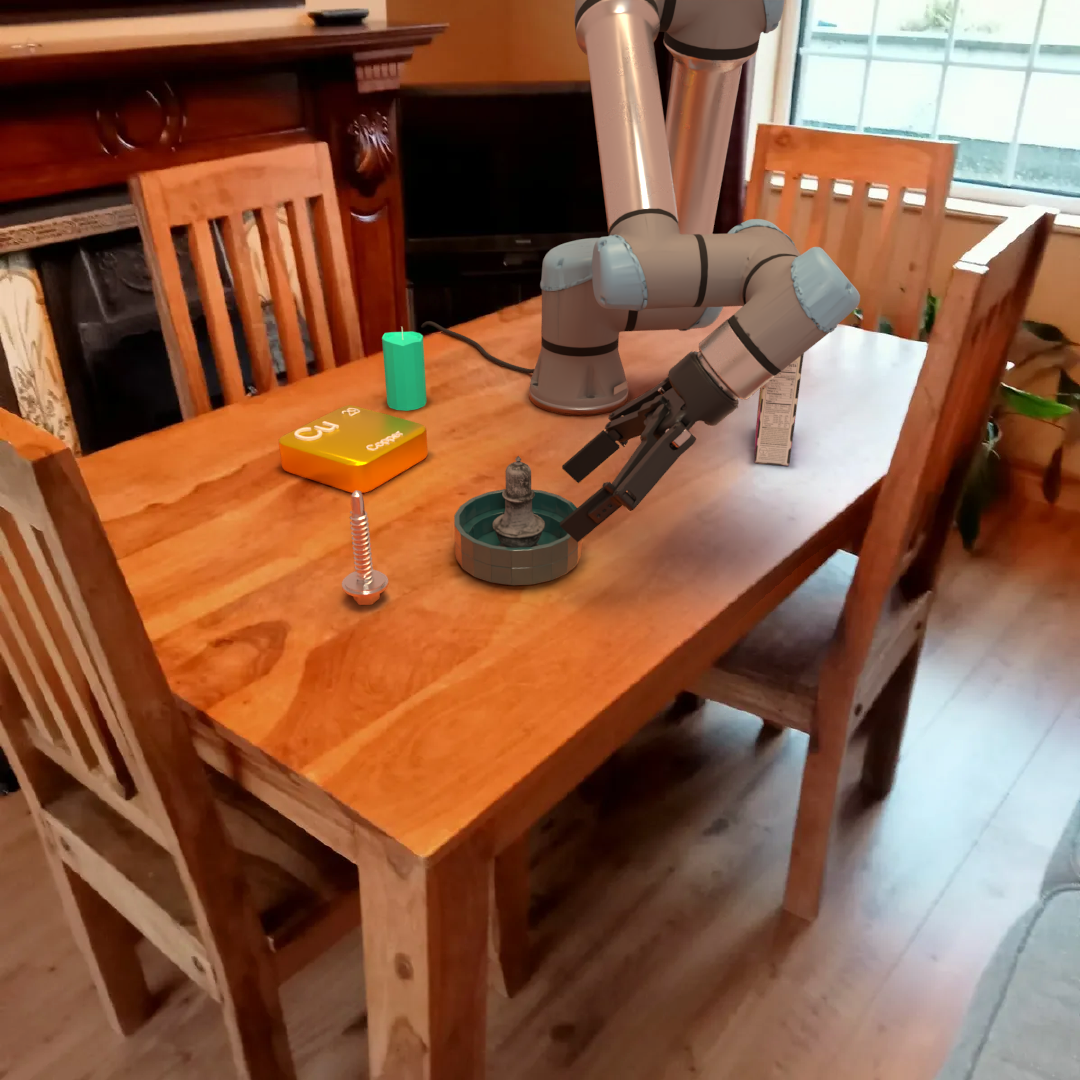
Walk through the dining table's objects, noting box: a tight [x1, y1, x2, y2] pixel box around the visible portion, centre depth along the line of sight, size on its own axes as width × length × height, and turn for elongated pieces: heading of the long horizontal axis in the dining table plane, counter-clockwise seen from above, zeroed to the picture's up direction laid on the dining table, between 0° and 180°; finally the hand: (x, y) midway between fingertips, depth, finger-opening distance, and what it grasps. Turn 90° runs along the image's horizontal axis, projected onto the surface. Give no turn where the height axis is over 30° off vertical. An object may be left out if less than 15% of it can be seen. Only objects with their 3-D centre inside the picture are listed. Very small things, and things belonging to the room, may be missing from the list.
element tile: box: [278, 404, 429, 494], centre depth 135 cm, size 15×15×5 cm
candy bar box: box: [754, 353, 805, 467], centre depth 136 cm, size 11×5×16 cm, turn 168°
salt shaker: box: [493, 455, 545, 548], centre depth 112 cm, size 6×6×12 cm
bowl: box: [453, 488, 583, 586], centre depth 114 cm, size 14×14×5 cm
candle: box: [381, 326, 428, 412], centre depth 151 cm, size 6×6×12 cm
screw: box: [341, 490, 389, 606], centre depth 104 cm, size 13×5×5 cm
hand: (569, 502), depth 112 cm, fingers open, 13 cm apart
